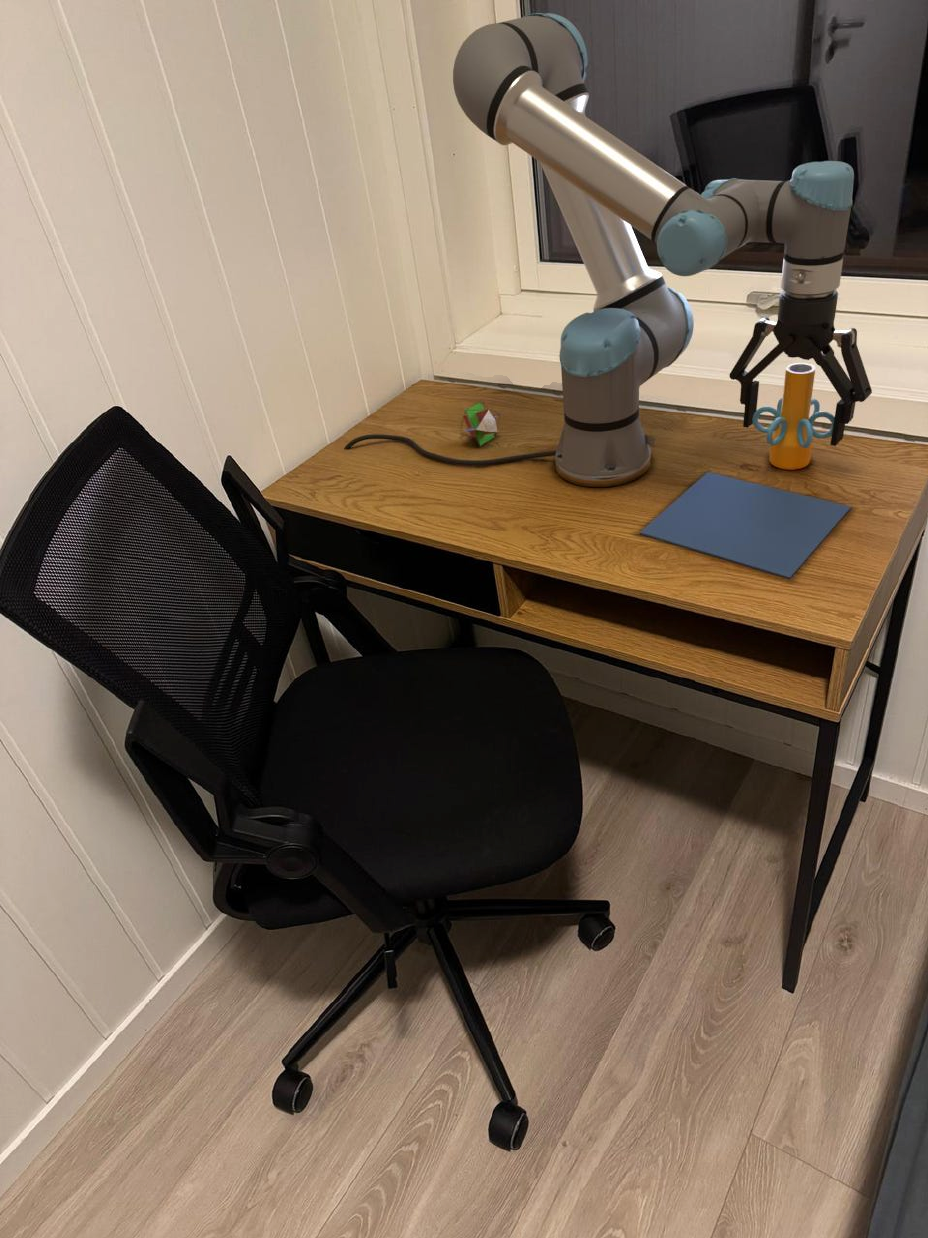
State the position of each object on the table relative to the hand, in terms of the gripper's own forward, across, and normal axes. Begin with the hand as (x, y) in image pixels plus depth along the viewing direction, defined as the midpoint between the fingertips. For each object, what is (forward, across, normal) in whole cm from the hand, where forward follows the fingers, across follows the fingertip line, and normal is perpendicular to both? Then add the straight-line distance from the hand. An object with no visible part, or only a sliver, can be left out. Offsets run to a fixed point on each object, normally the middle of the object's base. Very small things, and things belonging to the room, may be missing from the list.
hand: (791, 432), depth 130 cm
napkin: (+5, +2, -19) cm, 20 cm away
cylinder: (+5, 0, 0) cm, 5 cm away
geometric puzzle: (+5, -49, -16) cm, 52 cm away
